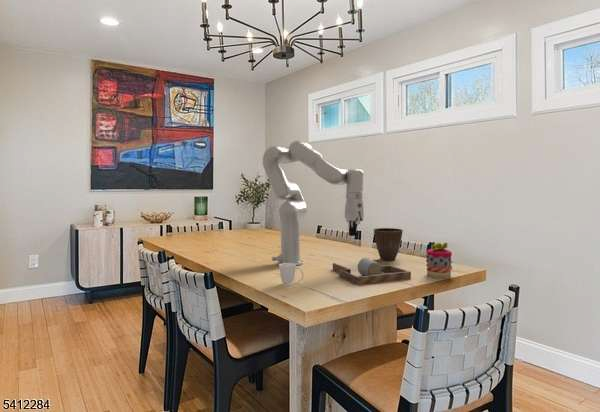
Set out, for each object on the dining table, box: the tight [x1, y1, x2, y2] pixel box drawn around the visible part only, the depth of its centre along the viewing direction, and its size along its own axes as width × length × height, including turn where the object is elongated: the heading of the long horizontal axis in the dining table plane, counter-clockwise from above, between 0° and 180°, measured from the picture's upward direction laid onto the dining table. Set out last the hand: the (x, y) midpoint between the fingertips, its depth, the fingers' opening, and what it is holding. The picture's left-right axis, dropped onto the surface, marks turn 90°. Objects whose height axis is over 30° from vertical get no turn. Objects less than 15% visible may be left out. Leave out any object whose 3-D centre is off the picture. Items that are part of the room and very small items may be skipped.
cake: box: [425, 242, 453, 279], centre depth 171 cm, size 10×11×15 cm
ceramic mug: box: [357, 257, 385, 276], centre depth 170 cm, size 11×8×8 cm
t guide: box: [332, 262, 412, 286], centre depth 174 cm, size 26×29×3 cm
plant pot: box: [373, 227, 403, 262], centre depth 208 cm, size 15×15×16 cm
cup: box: [278, 263, 304, 287], centre depth 157 cm, size 7×10×8 cm
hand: (352, 235), depth 183 cm, fingers closed
